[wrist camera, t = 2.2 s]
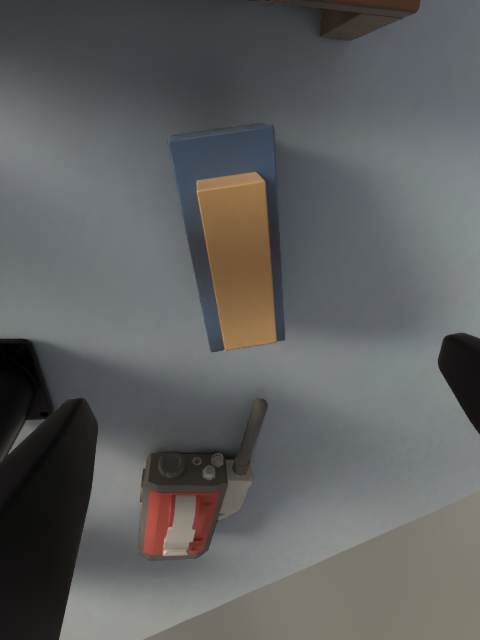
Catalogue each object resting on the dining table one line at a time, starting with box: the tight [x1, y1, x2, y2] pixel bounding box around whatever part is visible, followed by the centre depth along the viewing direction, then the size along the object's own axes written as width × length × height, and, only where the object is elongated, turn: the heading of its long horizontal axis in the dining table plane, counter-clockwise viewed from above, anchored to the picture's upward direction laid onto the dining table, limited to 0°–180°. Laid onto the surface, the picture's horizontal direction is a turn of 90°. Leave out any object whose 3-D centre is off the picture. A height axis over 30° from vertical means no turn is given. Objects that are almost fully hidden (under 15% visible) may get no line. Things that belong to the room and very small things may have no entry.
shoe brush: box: [168, 123, 285, 352], centre depth 16 cm, size 10×4×6 cm, turn 7°
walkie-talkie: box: [137, 398, 268, 561], centre depth 27 cm, size 9×4×20 cm
